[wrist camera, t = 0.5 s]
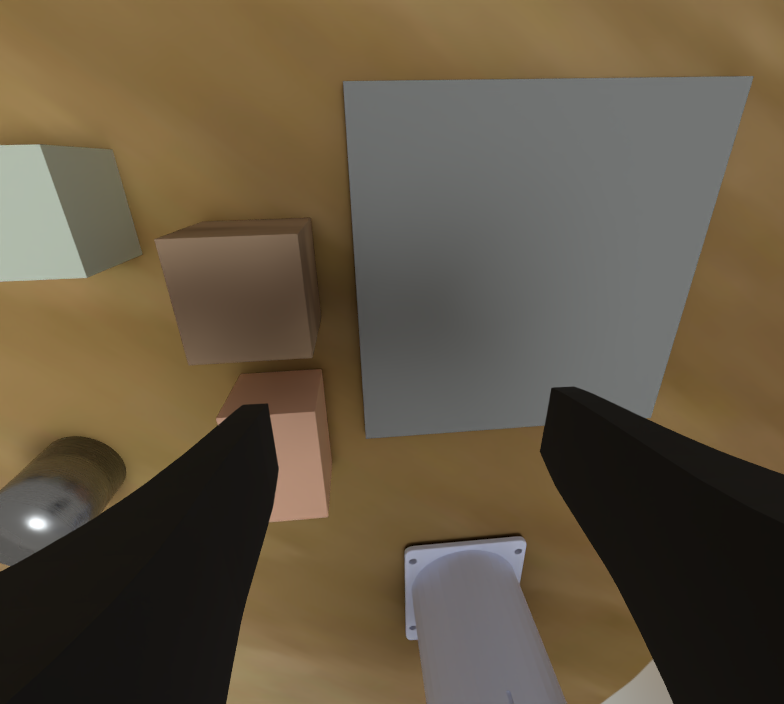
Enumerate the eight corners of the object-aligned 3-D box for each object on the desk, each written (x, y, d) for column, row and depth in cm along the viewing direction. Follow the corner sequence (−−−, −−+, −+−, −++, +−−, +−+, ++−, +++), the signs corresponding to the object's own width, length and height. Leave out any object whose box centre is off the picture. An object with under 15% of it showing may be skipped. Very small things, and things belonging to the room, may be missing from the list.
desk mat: (643, 411, 23) (650, 417, 22) (365, 431, 22) (365, 438, 21) (740, 79, 16) (753, 76, 16) (343, 84, 15) (343, 81, 14)
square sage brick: (143, 254, 17) (87, 277, 13) (45, 257, 17) (-40, 283, 13) (113, 149, 15) (39, 144, 12) (3, 151, 15) (-107, 147, 11)
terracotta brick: (332, 461, 23) (328, 517, 19) (260, 466, 22) (242, 524, 19) (322, 367, 20) (314, 411, 17) (241, 372, 20) (216, 418, 16)
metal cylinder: (135, 492, 22) (87, 564, 18) (60, 498, 22) (-7, 573, 18) (112, 433, 21) (53, 499, 16) (30, 439, 20) (-51, 507, 16)
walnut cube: (321, 316, 19) (312, 357, 15) (224, 321, 19) (188, 365, 15) (310, 217, 17) (297, 233, 13) (202, 221, 17) (154, 239, 13)
